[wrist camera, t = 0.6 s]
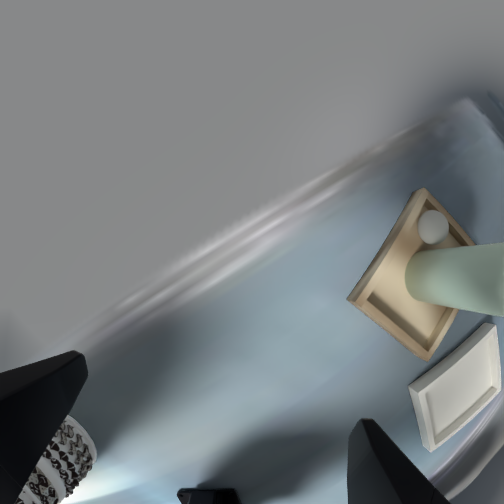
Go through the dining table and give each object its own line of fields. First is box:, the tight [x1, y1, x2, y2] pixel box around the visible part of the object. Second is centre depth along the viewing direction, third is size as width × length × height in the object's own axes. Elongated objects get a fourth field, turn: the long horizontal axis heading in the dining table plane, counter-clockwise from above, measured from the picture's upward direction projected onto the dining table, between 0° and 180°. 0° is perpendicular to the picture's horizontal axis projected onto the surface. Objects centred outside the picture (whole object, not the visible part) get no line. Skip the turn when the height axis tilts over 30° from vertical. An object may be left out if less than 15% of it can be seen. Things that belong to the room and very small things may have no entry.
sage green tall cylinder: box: [405, 243, 504, 317], centre depth 17 cm, size 5×5×11 cm
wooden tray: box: [347, 188, 475, 362], centre depth 22 cm, size 12×10×2 cm
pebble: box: [417, 210, 449, 245], centre depth 21 cm, size 3×3×3 cm
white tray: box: [408, 322, 501, 452], centre depth 21 cm, size 12×10×2 cm
